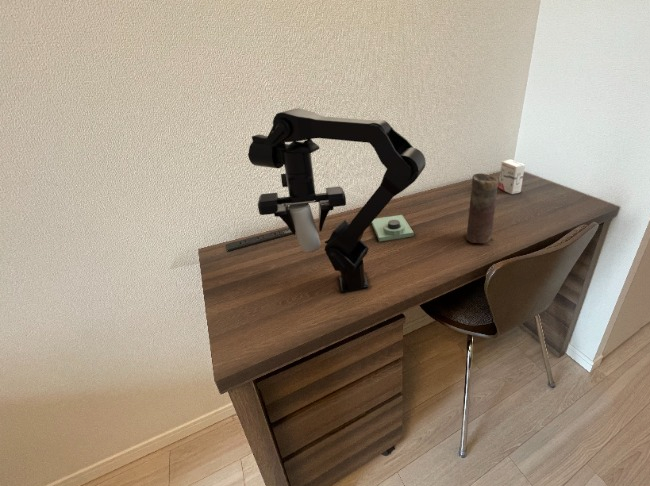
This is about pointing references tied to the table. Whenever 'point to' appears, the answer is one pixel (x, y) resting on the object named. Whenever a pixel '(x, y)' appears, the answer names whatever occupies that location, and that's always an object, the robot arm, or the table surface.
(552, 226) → the table surface
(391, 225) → the button
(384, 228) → the pale green flat piece
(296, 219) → the beverage can
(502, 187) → the ink box
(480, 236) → the candle
